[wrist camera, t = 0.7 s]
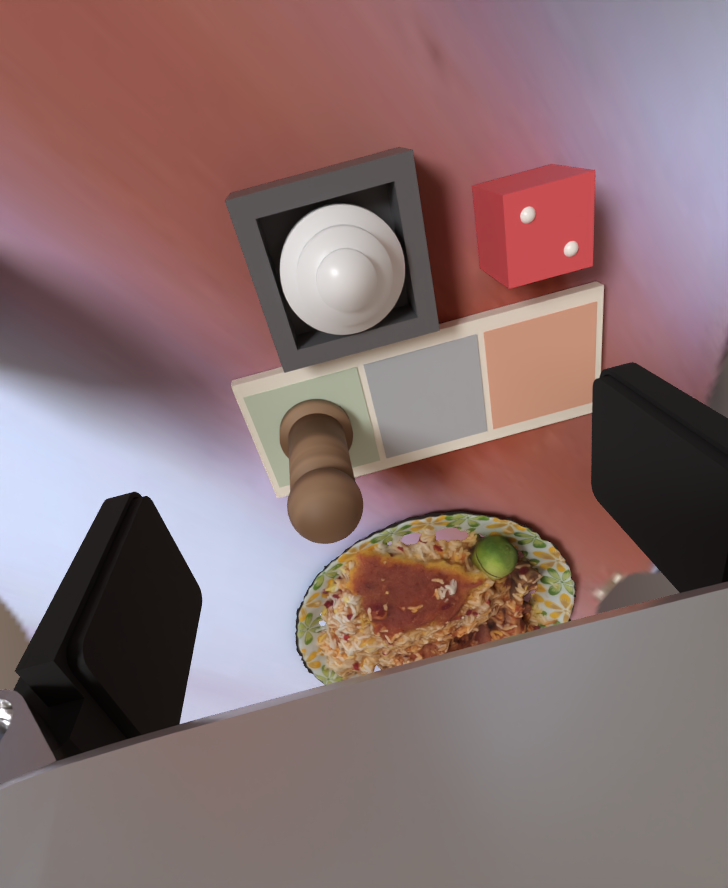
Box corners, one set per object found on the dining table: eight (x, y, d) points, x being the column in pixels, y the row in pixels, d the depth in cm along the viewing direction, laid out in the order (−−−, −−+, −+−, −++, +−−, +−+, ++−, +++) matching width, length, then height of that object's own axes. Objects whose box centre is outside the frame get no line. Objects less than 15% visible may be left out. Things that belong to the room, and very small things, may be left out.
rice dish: (236, 597, 48) (230, 648, 44) (498, 449, 42) (522, 491, 37) (390, 714, 62) (397, 761, 58) (601, 617, 56) (628, 662, 52)
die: (471, 185, 31) (504, 196, 26) (551, 164, 31) (598, 170, 26) (479, 268, 34) (510, 290, 29) (553, 248, 34) (595, 267, 29)
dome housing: (230, 193, 29) (224, 200, 26) (398, 147, 29) (412, 149, 26) (283, 351, 35) (284, 372, 32) (425, 313, 35) (439, 330, 32)
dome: (262, 221, 28) (261, 231, 25) (388, 187, 28) (398, 193, 25) (300, 340, 31) (302, 359, 29) (410, 311, 31) (421, 326, 29)
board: (232, 380, 35) (230, 387, 34) (596, 281, 35) (604, 285, 34) (277, 490, 41) (277, 499, 40) (592, 404, 41) (599, 411, 40)
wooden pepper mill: (269, 409, 36) (267, 507, 26) (341, 390, 36) (364, 481, 26) (291, 468, 38) (296, 574, 29) (358, 450, 38) (384, 550, 29)
